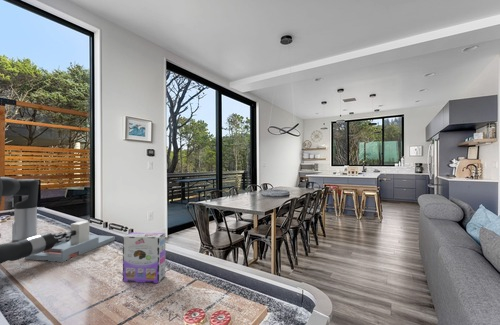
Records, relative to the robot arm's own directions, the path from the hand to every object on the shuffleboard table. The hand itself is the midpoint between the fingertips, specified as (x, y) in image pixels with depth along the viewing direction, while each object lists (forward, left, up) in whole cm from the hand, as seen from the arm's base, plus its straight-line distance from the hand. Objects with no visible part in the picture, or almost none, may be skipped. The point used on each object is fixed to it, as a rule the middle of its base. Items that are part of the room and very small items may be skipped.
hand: (74, 232), depth 117 cm
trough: (0, 0, -8) cm, 8 cm away
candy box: (+31, -48, -8) cm, 58 cm away
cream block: (+2, +2, -6) cm, 7 cm away
